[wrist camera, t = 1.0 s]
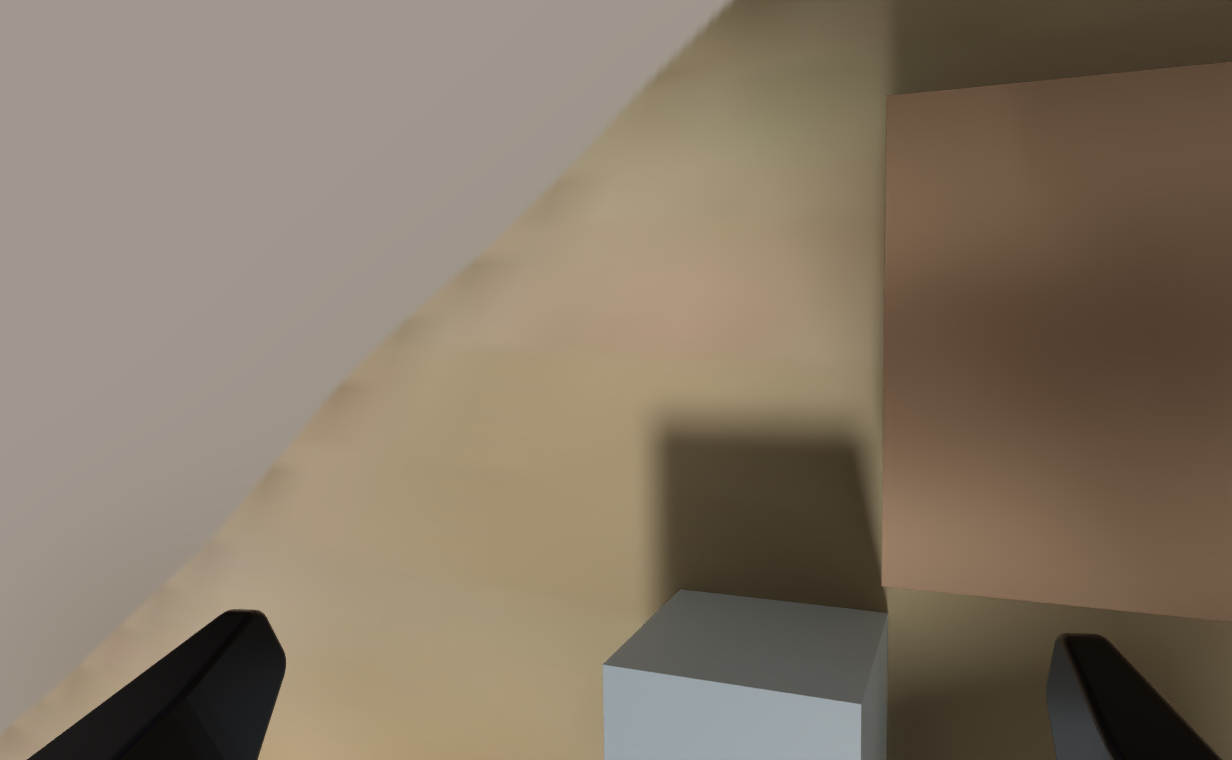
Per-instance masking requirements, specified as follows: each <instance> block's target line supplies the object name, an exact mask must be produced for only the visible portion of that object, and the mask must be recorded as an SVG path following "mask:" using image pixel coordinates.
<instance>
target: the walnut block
mask: <svg viewBox="0 0 1232 760" xmlns="http://www.w3.org/2000/svg"><path fill="white" fill-rule="evenodd" d="M882 586H885V587H895V588H905V589H915V590H924V591H934V592H944V593H953V594H963V595H973V596H983V597H992V598H1002V599H1012V600H1021V601H1031V602H1041V603H1051V604H1060V605H1070V606H1080V607H1089V608H1099V609H1109V610H1119V611H1128V612H1138V613H1148V614H1157V615H1167V616H1177V617H1187V618H1196V619H1206V620H1216V621H1225V622H1232V61H1231V62H1221V63H1211V64H1201V65H1191V66H1181V67H1171V68H1160V69H1150V70H1140V71H1130V72H1120V73H1110V74H1100V75H1090V76H1080V77H1070V78H1060V79H1050V80H1040V81H1030V82H1019V83H1009V84H999V85H989V86H979V87H969V88H959V89H949V90H939V91H929V92H919V93H909V94H899V95H889V96H887V116H886V212H885V308H884V404H883V501H882Z"/></svg>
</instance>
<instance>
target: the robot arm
mask: <svg viewBox="0 0 1232 760" xmlns="http://www.w3.org/2000/svg"><path fill="white" fill-rule="evenodd" d="M285 669H286V657H285V653H284V650H283V648H282V646H281V644H280V642H279V640H278V639H277V637H276V635H275V633H274V631H273V629H272V627H271V625H270V623H269V621H268V619H267V617H266V616H265V614H263V613H262V612H261V611H258V610H243V609H233V610H228V611H226V612H224V613H223V614H221V615H219V616H218V617H217V618H215V619H214V620H213V621H211V622H210V623H209V624H207V625H206V626H205V627H203V628H202V629H201V630H199V631H198V632H197V633H195V634H194V635H193V636H191V637H190V638H189V639H187V640H186V641H185V642H183V643H182V644H181V645H179V646H178V647H177V648H175V649H174V650H173V651H171V652H170V653H169V654H167V655H166V656H165V657H163V658H162V659H161V660H159V661H158V662H157V663H155V664H154V665H153V666H151V667H150V668H149V669H147V670H146V671H145V672H143V673H142V674H141V675H139V676H138V677H137V678H135V679H134V680H133V681H131V682H130V683H129V684H127V685H126V686H125V687H123V688H122V689H121V690H119V691H118V692H117V693H115V694H114V695H113V696H111V697H110V698H109V699H107V700H106V701H105V702H103V703H102V704H101V705H99V706H98V707H97V708H95V709H94V710H93V711H91V712H90V713H89V714H87V715H86V716H85V717H83V718H82V719H81V720H79V721H78V722H77V723H75V724H74V725H73V726H71V727H70V728H69V729H67V730H66V731H65V732H63V733H62V734H61V735H59V736H58V737H57V738H55V739H54V740H53V741H51V742H50V743H49V744H47V745H46V746H45V747H43V748H42V749H41V750H39V751H38V752H37V753H35V754H34V755H33V756H31V757H30V758H29V759H27V760H257V759H258V756H259V753H260V750H261V747H262V744H263V741H264V737H265V734H266V731H267V728H268V725H269V722H270V719H271V715H272V712H273V709H274V706H275V703H276V700H277V696H278V693H279V690H280V687H281V684H282V681H283V678H284V674H285ZM1046 695H1047V706H1048V712H1049V718H1050V723H1051V729H1052V734H1053V740H1054V745H1055V751H1056V756H1057V760H1222V759H1221V758H1220V757H1219V756H1218V755H1217V754H1216V753H1215V752H1214V750H1213V749H1212V748H1211V747H1210V746H1209V745H1208V744H1207V743H1206V742H1205V741H1204V740H1203V739H1202V738H1201V737H1200V736H1199V735H1198V734H1197V733H1196V732H1195V731H1194V730H1193V729H1192V727H1191V726H1190V725H1189V724H1188V723H1187V722H1186V721H1185V720H1184V719H1183V718H1182V717H1181V716H1180V715H1179V714H1178V713H1177V712H1176V711H1175V710H1174V709H1173V708H1172V707H1171V705H1170V704H1169V703H1168V702H1167V701H1166V700H1165V699H1164V698H1163V697H1162V696H1161V695H1160V694H1159V693H1158V692H1157V691H1156V690H1155V689H1154V688H1153V687H1152V686H1151V685H1150V683H1149V682H1148V681H1147V680H1146V679H1145V678H1144V677H1143V676H1142V675H1141V674H1140V673H1139V672H1138V671H1137V670H1136V669H1135V668H1134V667H1133V666H1132V665H1131V664H1130V663H1129V662H1128V660H1127V659H1126V658H1125V657H1124V656H1123V655H1122V654H1121V653H1120V652H1119V651H1118V650H1117V649H1116V648H1115V647H1114V646H1113V645H1112V644H1111V643H1110V642H1109V641H1108V640H1107V639H1106V638H1104V637H1102V636H1100V635H1097V634H1078V633H1064V634H1060V635H1059V636H1058V637H1057V639H1056V641H1055V644H1054V650H1053V655H1052V660H1051V665H1050V670H1049V675H1048V680H1047V688H1046Z"/></svg>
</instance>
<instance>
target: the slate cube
mask: <svg viewBox="0 0 1232 760" xmlns="http://www.w3.org/2000/svg"><path fill="white" fill-rule="evenodd" d="M887 668H888V613H884V612H875V611H867V610H858V609H849V608H840V607H832V606H823V605H814V604H805V603H797V602H788V601H779V600H770V599H762V598H753V597H744V596H735V595H726V594H718V593H709V592H700V591H691V590H683V589H680V590H679V591H678V592H677V593H676V594H675V595H674V596H673V597H672V598H671V599H670V600H669V601H668V602H667V603H666V604H664V605H663V606H662V607H661V608H660V609H659V610H658V611H657V612H656V613H655V614H654V615H653V616H652V617H651V618H650V619H649V620H648V621H647V622H646V623H645V624H644V625H643V626H642V627H641V628H640V629H639V630H638V631H637V632H636V633H635V634H634V635H633V636H632V637H631V638H630V639H629V640H628V641H627V642H625V643H624V644H623V645H622V646H621V647H620V648H619V649H618V650H617V651H616V652H615V653H614V654H613V655H612V656H611V657H610V658H609V659H608V660H607V661H606V662H605V663H604V664H603V706H604V760H886V758H887Z"/></svg>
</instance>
